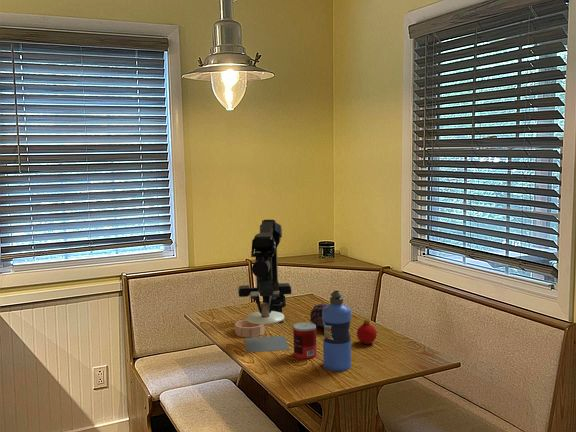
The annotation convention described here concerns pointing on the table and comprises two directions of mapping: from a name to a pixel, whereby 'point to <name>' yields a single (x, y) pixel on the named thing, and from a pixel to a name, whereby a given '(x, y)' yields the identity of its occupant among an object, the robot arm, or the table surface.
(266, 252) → the robot arm
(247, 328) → the bowl
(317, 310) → the pine cone
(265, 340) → the mat
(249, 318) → the lid
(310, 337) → the canned food
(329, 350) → the water bottle
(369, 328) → the christmas ornament
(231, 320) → the table surface
